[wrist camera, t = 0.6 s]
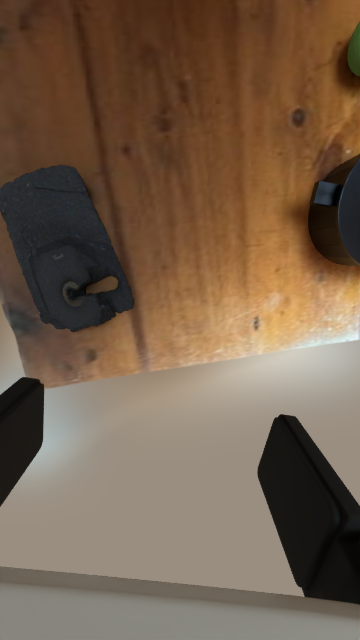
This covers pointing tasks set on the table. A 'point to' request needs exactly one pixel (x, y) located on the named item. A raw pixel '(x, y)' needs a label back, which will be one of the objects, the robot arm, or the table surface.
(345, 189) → the lid
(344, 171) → the pan
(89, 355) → the table surface
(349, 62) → the ball
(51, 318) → the dark slate chunk
